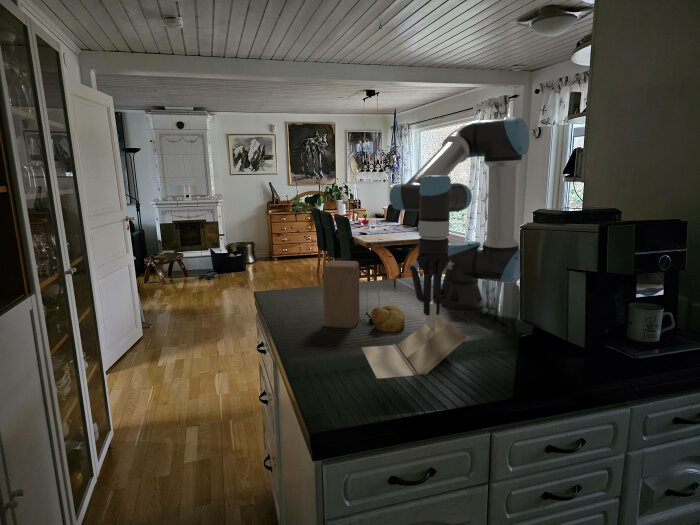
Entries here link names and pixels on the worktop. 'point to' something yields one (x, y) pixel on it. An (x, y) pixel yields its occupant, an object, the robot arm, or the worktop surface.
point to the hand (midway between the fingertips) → (431, 326)
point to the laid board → (388, 361)
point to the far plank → (420, 337)
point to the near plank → (436, 349)
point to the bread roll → (388, 318)
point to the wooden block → (341, 294)
